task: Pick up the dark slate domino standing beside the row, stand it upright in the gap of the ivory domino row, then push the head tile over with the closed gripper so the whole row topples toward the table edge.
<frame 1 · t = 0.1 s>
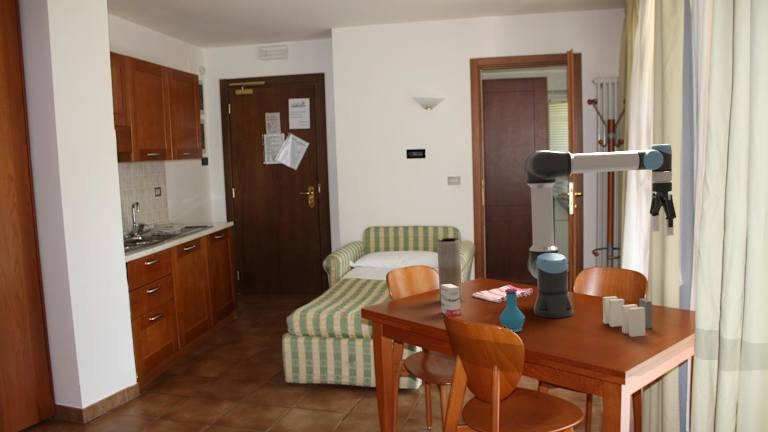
hand: (662, 233, 268), 28 cm above the table, fingers open, 13 cm apart
ink box: (451, 314, 267), on the table
domino d: (617, 325, 236), on the table
domino b: (630, 332, 227), on the table
vase: (451, 301, 289), on the table
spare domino: (645, 326, 233), on the table
dish towel: (502, 297, 294), on the table
perfume bottle: (512, 330, 239), on the table
domino head: (610, 322, 241), on the table
domino tail: (637, 335, 223), on the table
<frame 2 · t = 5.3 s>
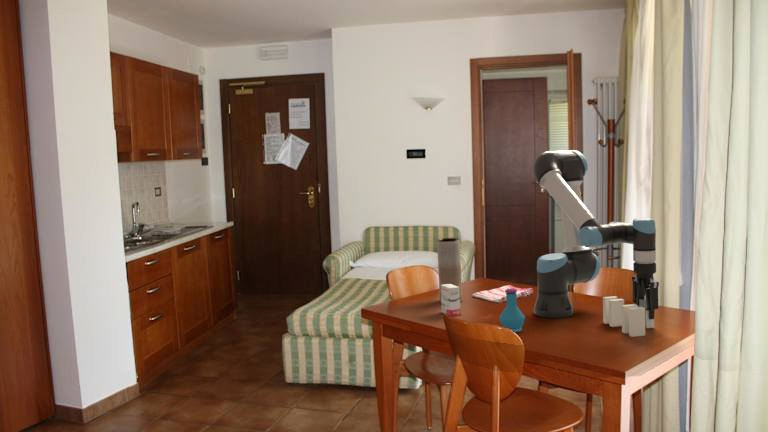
hand: (645, 325, 233), 0 cm above the table, fingers closed on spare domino, 5 cm apart
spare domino: (645, 326, 233), on the table, touching gripper
everything else where it was.
when the fingers open (1 cm above the table, at t = 9.8 s): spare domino stays where it is, on the table.
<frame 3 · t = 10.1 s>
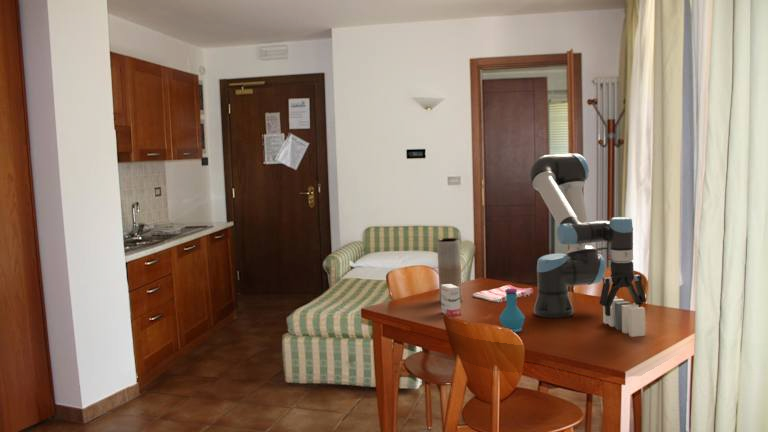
hand: (623, 323, 232), 2 cm above the table, fingers open, 9 cm apart
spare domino: (623, 328, 232), on the table
everything else where it was.
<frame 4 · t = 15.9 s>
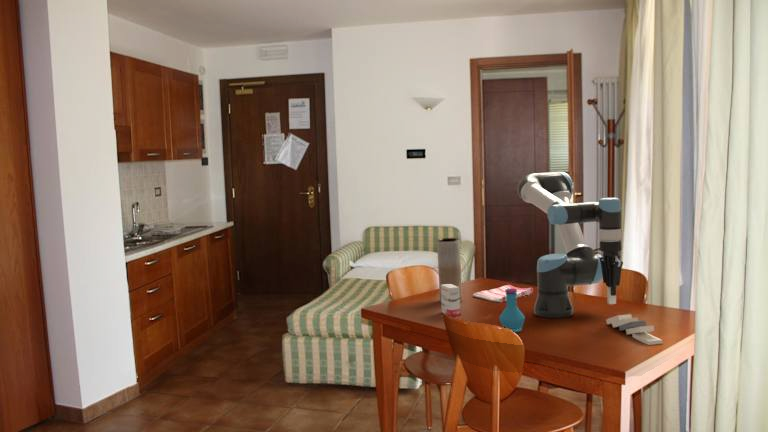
hand: (611, 303, 239), 7 cm above the table, fingers closed
domino d: (618, 324, 235), point 1 cm above the table, tilted 68°, touching domino head
domino b: (632, 331, 225), point 1 cm above the table, tilted 70°, touching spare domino
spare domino: (626, 327, 230), point 1 cm above the table, tilted 67°, touching domino b
domino head: (613, 321, 239), point 1 cm above the table, tilted 68°, touching domino d
domino tail: (639, 335, 222), on the table, tilted 90°
everything else where it was.
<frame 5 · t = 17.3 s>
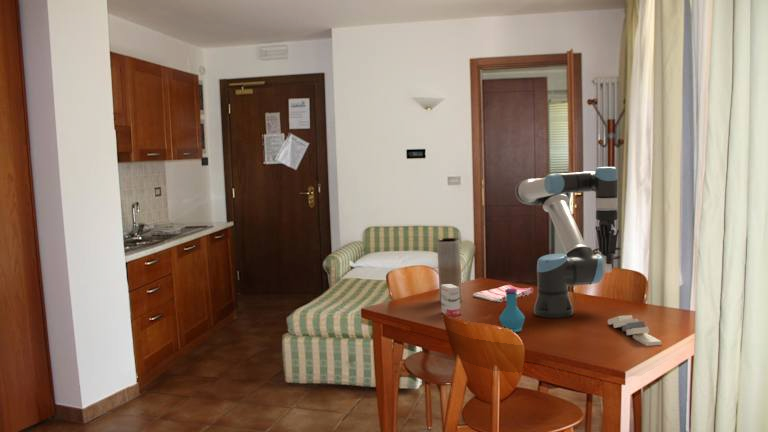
hand: (607, 272, 241), 19 cm above the table, fingers closed
domino d: (620, 325, 234), point 1 cm above the table, tilted 68°, touching domino head, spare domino
domino b: (633, 332, 224), point 1 cm above the table, tilted 71°, touching domino tail, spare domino
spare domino: (629, 328, 228), point 1 cm above the table, tilted 67°, touching domino b, domino d
domino tail: (639, 336, 221), on the table, tilted 90°, touching domino b
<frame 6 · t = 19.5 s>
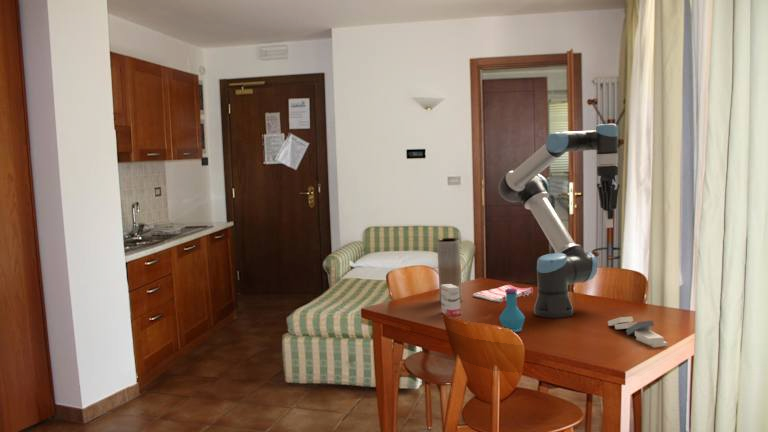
hand: (608, 227, 247), 34 cm above the table, fingers closed
domino d: (621, 326, 232), point 1 cm above the table, tilted 73°, touching domino head
domino b: (641, 332, 219), point 2 cm above the table, tilted 90°, touching domino tail
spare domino: (633, 332, 224), point 1 cm above the table, tilted 59°
domino head: (614, 322, 237), point 1 cm above the table, tilted 68°, touching domino d
domino tail: (642, 338, 219), on the table, tilted 90°, touching domino b
everything else where it was.
at the end: domino tail tilted 90°; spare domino tilted 60°; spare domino inside the target area (3.9 cm from its centre), point 0.8 cm above the table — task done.
